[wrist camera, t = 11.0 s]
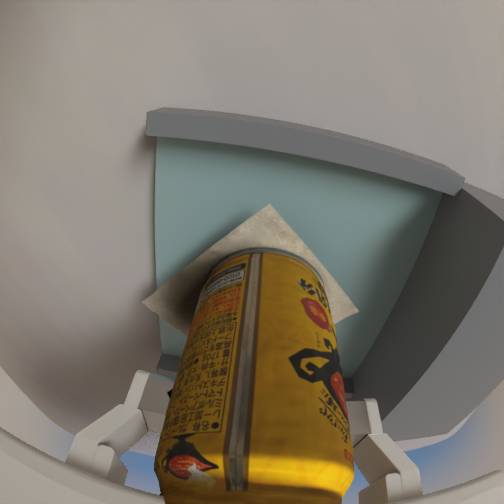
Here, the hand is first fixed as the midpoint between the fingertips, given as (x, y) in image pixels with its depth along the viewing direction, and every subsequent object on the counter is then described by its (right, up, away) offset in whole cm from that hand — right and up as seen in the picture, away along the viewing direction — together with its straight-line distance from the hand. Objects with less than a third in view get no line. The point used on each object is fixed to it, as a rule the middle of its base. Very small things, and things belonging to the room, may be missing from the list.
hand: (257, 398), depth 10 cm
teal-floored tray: (+5, +3, +7) cm, 9 cm away
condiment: (0, +3, +5) cm, 6 cm away
